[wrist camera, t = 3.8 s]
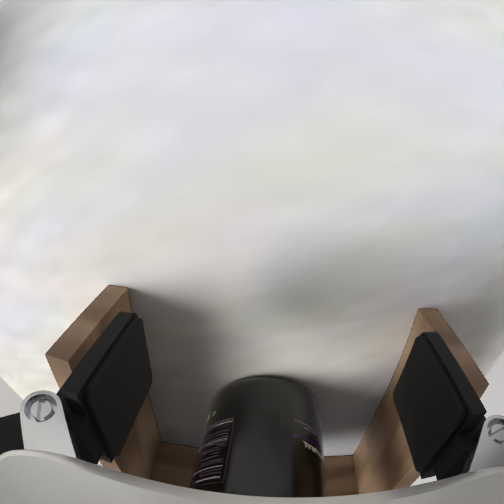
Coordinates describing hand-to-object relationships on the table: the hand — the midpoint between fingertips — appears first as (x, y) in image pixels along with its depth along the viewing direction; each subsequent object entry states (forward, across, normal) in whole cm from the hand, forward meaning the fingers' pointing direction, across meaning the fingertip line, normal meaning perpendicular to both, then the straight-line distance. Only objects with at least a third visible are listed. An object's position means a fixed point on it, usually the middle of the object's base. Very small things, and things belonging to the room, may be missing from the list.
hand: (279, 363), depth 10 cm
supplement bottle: (+5, 0, +9) cm, 10 cm away
